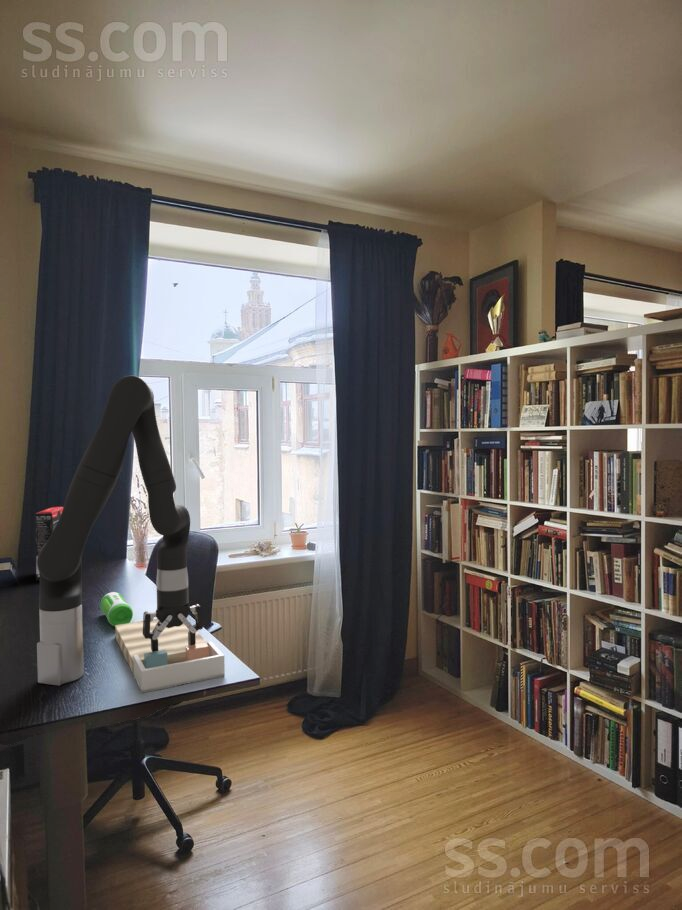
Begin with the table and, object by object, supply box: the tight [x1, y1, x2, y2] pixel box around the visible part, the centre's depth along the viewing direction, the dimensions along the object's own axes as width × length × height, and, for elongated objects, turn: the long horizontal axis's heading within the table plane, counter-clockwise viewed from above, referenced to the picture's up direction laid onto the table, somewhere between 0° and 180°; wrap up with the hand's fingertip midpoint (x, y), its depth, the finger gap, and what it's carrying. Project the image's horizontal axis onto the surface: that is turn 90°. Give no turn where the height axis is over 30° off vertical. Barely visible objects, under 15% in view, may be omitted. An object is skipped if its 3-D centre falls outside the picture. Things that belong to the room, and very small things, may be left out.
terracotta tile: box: [186, 643, 209, 661], centre depth 146 cm, size 5×5×2 cm
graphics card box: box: [35, 506, 64, 582], centre depth 239 cm, size 17×7×27 cm, turn 10°
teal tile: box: [144, 650, 168, 669], centre depth 142 cm, size 5×5×2 cm
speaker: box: [100, 591, 134, 627], centre depth 184 cm, size 18×7×8 cm, turn 30°
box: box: [133, 640, 226, 694], centre depth 142 cm, size 11×19×5 cm, turn 119°
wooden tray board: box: [114, 618, 208, 676], centre depth 160 cm, size 30×19×4 cm, turn 29°
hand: (173, 650), depth 147 cm, fingers open, 8 cm apart
